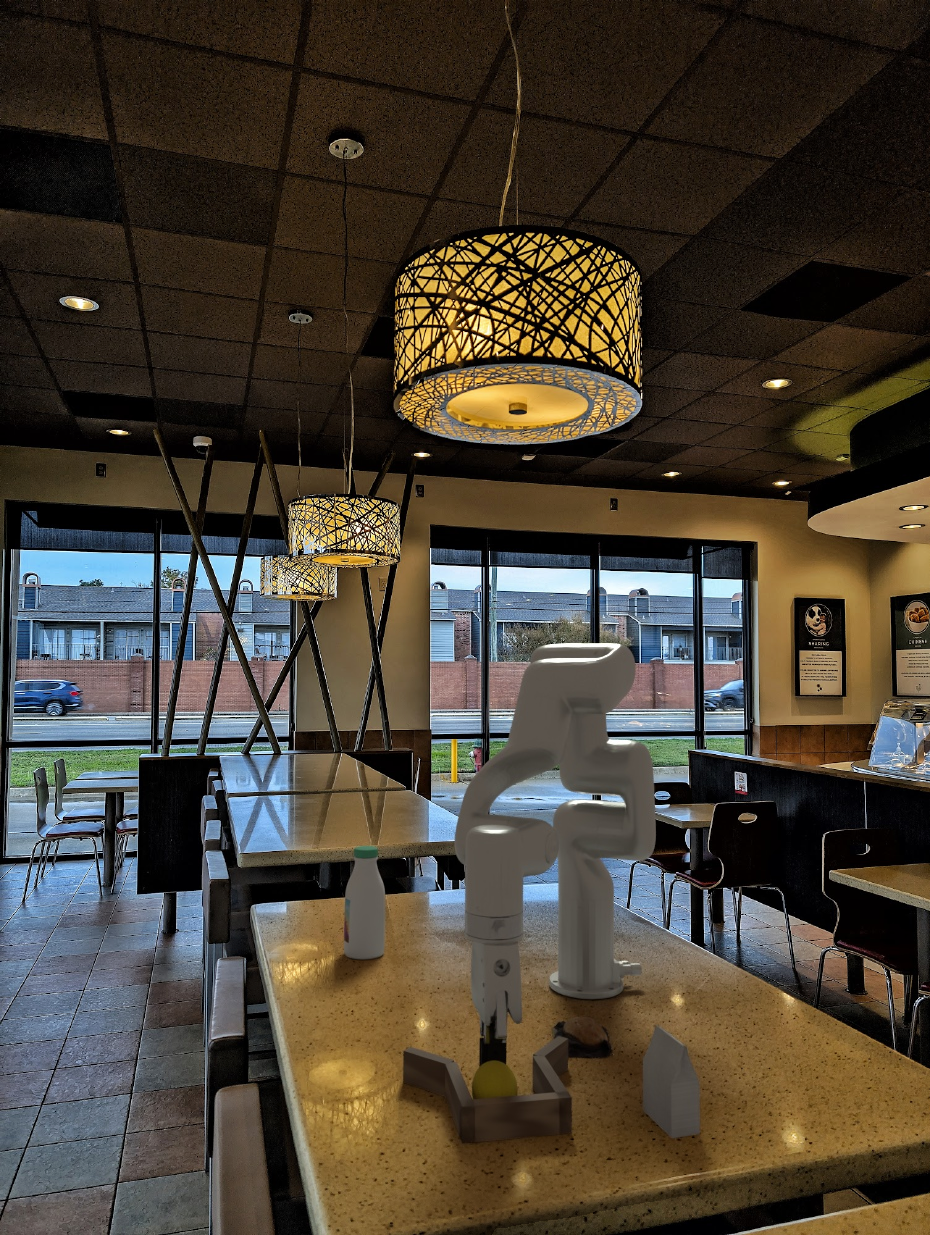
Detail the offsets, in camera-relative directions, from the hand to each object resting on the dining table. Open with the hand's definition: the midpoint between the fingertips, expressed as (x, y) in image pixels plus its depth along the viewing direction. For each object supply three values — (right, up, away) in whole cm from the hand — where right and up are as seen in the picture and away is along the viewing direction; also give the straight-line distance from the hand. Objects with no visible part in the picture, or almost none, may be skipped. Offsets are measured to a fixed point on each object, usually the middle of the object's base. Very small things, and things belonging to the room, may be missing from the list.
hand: (492, 1071), depth 110 cm
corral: (+1, -3, -3) cm, 4 cm away
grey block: (+21, -3, -7) cm, 22 cm away
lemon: (0, +2, -1) cm, 2 cm away
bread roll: (+14, -5, +16) cm, 21 cm away
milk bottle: (-23, -7, +55) cm, 60 cm away
